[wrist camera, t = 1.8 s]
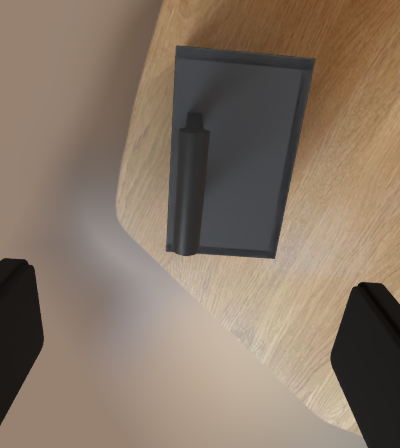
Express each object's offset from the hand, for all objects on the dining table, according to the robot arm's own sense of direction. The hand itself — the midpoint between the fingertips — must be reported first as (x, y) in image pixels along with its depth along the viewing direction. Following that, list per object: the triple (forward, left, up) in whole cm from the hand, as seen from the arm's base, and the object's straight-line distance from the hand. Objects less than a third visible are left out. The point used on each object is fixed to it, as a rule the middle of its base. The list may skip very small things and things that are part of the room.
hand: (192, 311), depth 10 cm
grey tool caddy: (+7, 0, -18) cm, 20 cm away
